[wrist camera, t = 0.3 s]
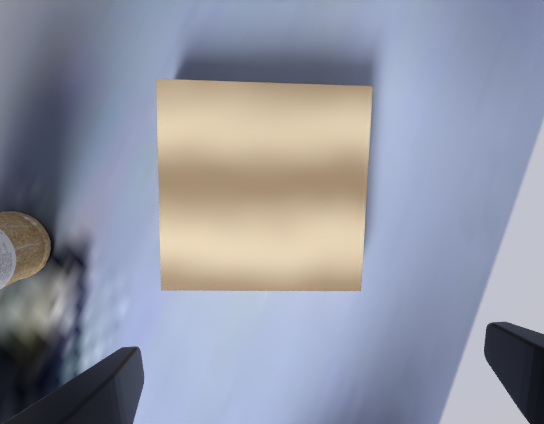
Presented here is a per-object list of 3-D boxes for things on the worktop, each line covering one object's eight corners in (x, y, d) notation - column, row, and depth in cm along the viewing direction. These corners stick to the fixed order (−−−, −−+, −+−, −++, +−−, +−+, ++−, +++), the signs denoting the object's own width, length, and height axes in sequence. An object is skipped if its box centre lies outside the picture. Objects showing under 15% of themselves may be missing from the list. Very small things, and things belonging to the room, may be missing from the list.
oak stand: (347, 275, 23) (361, 290, 20) (173, 274, 23) (161, 290, 20) (356, 97, 22) (372, 86, 19) (170, 91, 21) (156, 78, 18)
